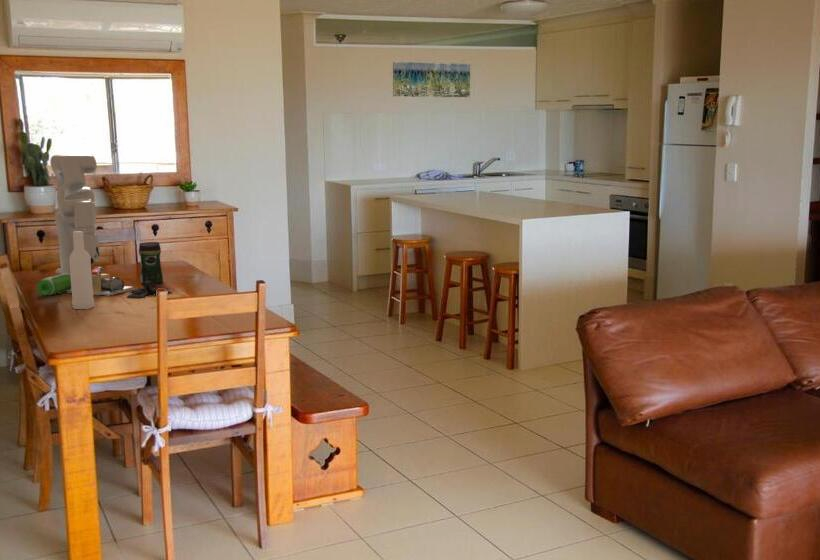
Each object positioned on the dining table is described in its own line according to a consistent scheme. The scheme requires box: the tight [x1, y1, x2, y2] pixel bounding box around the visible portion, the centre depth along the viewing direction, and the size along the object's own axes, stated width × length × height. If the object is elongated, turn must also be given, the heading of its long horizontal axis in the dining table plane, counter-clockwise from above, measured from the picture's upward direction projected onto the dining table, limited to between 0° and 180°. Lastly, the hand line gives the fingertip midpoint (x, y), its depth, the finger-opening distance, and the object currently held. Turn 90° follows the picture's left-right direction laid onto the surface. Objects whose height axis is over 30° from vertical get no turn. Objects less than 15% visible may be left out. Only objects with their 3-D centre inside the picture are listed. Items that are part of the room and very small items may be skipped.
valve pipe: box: [65, 273, 134, 297], centre depth 377 cm, size 23×16×7 cm
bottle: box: [69, 231, 95, 310], centre depth 341 cm, size 8×8×30 cm
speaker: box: [36, 273, 71, 296], centre depth 375 cm, size 18×7×8 cm, turn 166°
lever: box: [91, 266, 104, 275], centre depth 371 cm, size 14×4×3 cm, turn 11°
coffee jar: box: [138, 241, 164, 285], centre depth 395 cm, size 10×8×19 cm
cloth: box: [126, 281, 173, 299], centre depth 371 cm, size 22×19×6 cm
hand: (88, 274), depth 367 cm, fingers closed
